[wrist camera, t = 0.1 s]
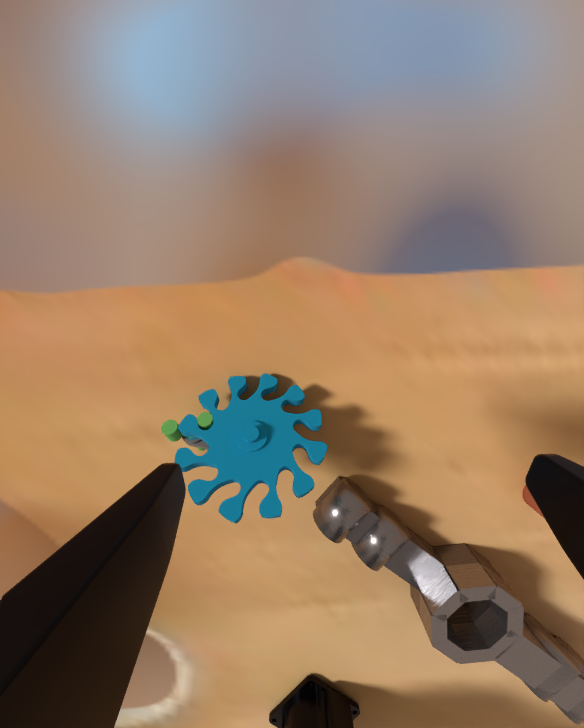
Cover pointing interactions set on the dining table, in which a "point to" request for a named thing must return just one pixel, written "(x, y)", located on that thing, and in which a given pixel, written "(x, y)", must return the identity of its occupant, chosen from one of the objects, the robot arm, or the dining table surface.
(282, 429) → the gear
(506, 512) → the dining table surface
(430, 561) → the grey jointed bar
